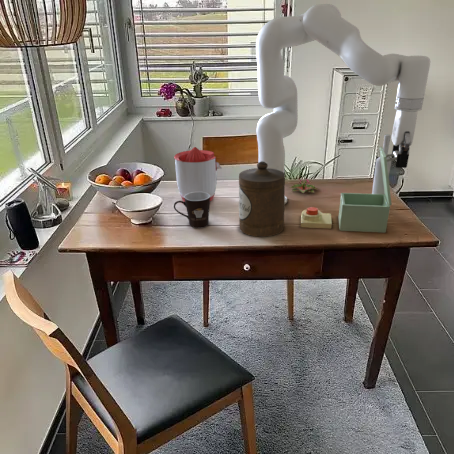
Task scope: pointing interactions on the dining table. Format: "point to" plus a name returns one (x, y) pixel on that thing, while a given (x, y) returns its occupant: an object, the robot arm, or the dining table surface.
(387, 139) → the bottle
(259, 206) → the wooden container
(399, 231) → the dining table surface
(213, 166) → the citrus juicer
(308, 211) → the button
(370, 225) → the compartment
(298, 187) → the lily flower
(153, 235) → the dining table surface
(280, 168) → the robot arm
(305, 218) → the control block
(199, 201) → the coffee mug
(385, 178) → the lid
